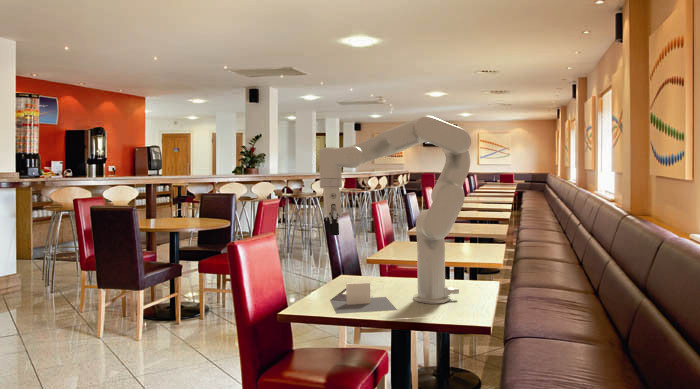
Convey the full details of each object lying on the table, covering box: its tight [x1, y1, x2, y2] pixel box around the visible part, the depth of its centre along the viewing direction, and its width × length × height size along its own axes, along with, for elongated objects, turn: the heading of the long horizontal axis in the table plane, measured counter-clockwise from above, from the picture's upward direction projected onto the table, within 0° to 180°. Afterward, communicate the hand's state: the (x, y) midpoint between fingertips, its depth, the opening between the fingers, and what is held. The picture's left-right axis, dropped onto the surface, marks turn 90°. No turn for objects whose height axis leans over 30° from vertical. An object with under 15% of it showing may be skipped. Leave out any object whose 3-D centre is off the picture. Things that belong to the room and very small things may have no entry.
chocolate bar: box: [330, 288, 346, 301], centre depth 204 cm, size 9×1×18 cm
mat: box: [329, 296, 398, 315], centre depth 189 cm, size 20×18×1 cm
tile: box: [345, 281, 371, 305], centre depth 191 cm, size 8×2×7 cm, turn 98°
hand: (332, 233), depth 192 cm, fingers open, 9 cm apart
